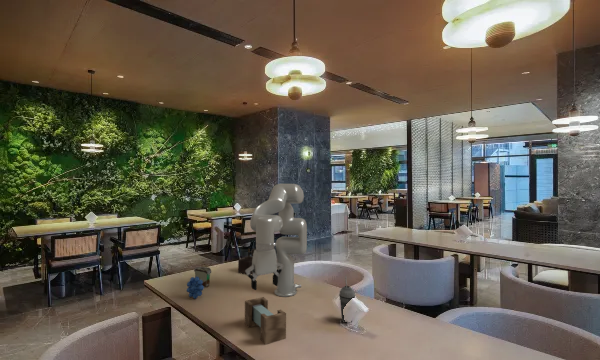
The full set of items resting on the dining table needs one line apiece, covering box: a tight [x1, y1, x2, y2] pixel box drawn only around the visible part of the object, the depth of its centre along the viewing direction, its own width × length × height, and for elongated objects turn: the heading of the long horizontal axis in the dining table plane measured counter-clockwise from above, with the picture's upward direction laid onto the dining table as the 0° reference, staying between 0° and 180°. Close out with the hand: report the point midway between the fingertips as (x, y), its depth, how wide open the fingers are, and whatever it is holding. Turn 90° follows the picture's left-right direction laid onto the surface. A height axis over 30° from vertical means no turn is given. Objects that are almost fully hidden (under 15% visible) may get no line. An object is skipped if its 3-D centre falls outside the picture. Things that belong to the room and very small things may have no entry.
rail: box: [252, 304, 275, 328], centre depth 132 cm, size 4×16×6 cm, turn 32°
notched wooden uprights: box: [244, 296, 287, 345], centre depth 132 cm, size 9×21×10 cm, turn 32°
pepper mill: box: [237, 248, 256, 276], centre depth 217 cm, size 16×11×18 cm
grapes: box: [186, 276, 205, 300], centre depth 169 cm, size 12×7×12 cm, turn 63°
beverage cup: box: [338, 275, 356, 323], centre depth 142 cm, size 7×7×20 cm
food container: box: [193, 266, 212, 288], centre depth 191 cm, size 12×6×10 cm, turn 58°
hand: (264, 287), depth 133 cm, fingers open, 9 cm apart
